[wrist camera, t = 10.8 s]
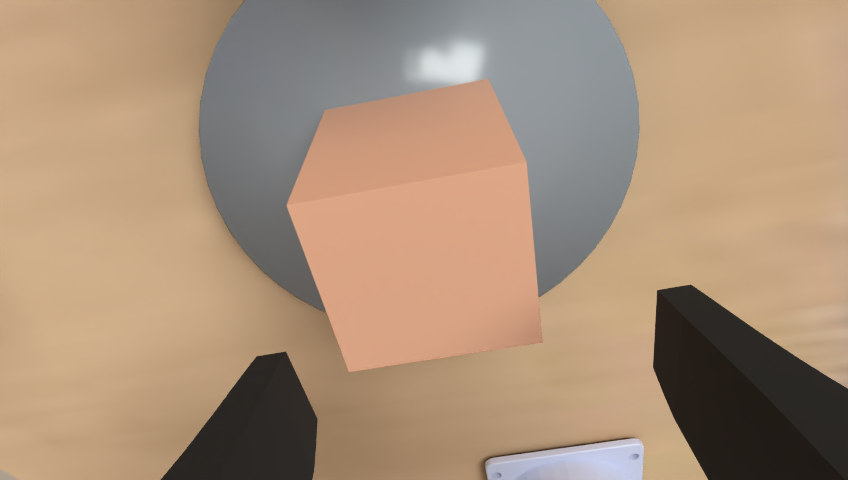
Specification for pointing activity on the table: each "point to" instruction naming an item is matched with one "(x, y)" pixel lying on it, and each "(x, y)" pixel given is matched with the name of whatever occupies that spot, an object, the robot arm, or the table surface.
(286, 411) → the robot arm
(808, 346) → the table surface
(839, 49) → the table surface
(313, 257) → the block
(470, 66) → the dish
